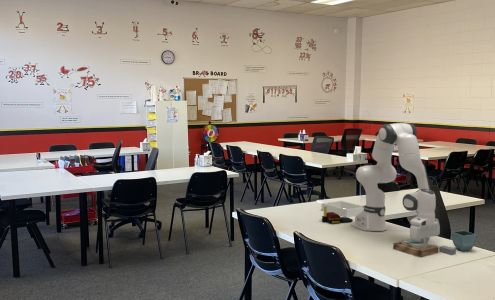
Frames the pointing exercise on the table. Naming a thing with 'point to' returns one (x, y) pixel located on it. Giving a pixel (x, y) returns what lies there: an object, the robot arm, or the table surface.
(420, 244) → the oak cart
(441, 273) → the table surface
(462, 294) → the table surface
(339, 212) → the toy storage tray
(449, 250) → the block
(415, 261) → the table surface
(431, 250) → the bay
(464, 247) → the flower pot
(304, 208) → the table surface
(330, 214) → the fire station toy set
